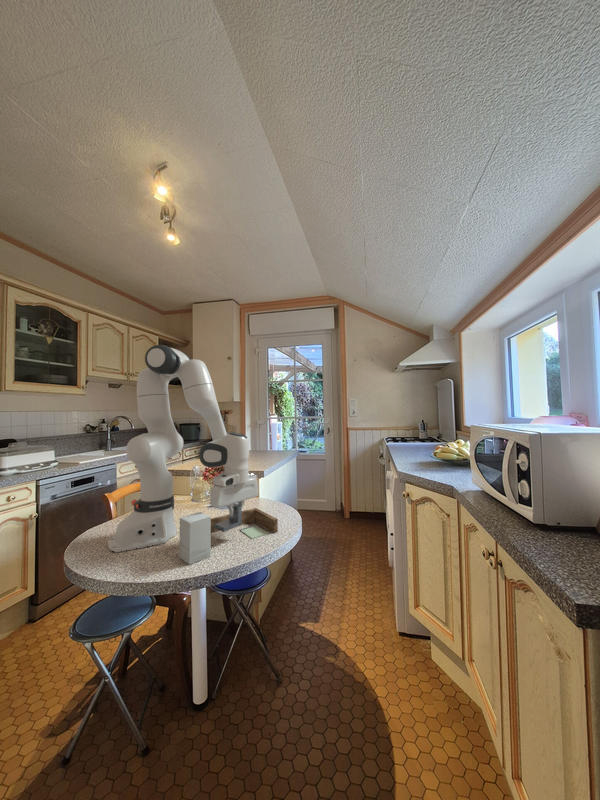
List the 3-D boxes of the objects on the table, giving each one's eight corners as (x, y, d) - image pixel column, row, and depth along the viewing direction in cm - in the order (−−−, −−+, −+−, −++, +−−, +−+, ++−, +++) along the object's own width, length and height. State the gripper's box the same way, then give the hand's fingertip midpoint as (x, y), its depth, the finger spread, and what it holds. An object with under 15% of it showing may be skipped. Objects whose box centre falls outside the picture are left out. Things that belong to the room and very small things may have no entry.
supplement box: (211, 556, 92) (211, 516, 93) (188, 565, 87) (189, 523, 88) (200, 549, 97) (200, 511, 98) (178, 557, 92) (178, 517, 93)
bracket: (223, 532, 100) (224, 511, 100) (214, 528, 103) (215, 508, 103) (241, 525, 106) (241, 505, 106) (232, 521, 109) (232, 503, 109)
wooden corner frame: (223, 549, 97) (223, 534, 97) (205, 533, 110) (205, 520, 111) (277, 532, 110) (277, 519, 111) (255, 519, 124) (255, 507, 124)
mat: (252, 539, 105) (252, 538, 105) (239, 530, 113) (239, 529, 113) (268, 533, 109) (268, 533, 109) (255, 525, 117) (255, 525, 117)
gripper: (251, 471, 118) (250, 505, 117) (208, 479, 101) (207, 519, 101) (262, 473, 114) (261, 508, 113) (219, 482, 98) (218, 524, 97)
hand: (235, 514), depth 107 cm, fingers closed on bracket
